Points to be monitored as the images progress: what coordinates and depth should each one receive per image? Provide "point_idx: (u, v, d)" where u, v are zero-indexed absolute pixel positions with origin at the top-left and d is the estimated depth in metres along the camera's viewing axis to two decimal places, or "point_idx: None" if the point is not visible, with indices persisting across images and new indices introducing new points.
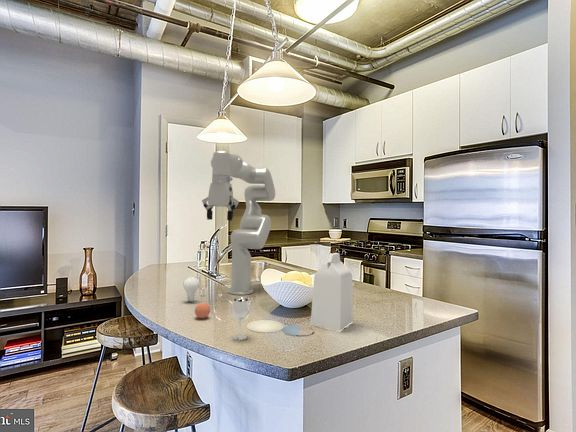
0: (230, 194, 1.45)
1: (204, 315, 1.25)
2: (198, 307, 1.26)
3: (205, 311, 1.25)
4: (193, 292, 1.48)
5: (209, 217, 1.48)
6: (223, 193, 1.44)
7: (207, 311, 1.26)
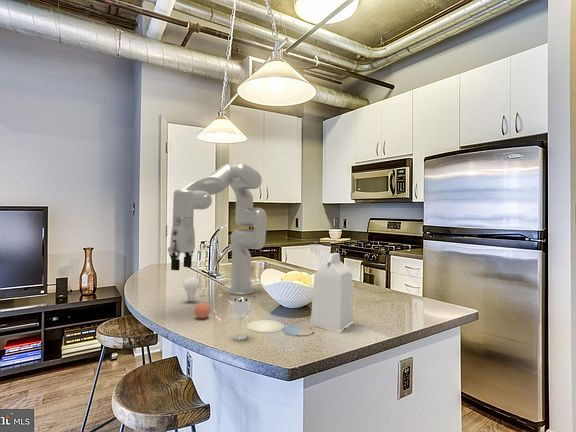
0: (174, 238, 1.25)
1: (204, 315, 1.25)
2: (198, 307, 1.26)
3: (205, 311, 1.25)
4: (193, 292, 1.48)
5: (185, 264, 1.34)
6: None
7: (207, 311, 1.26)
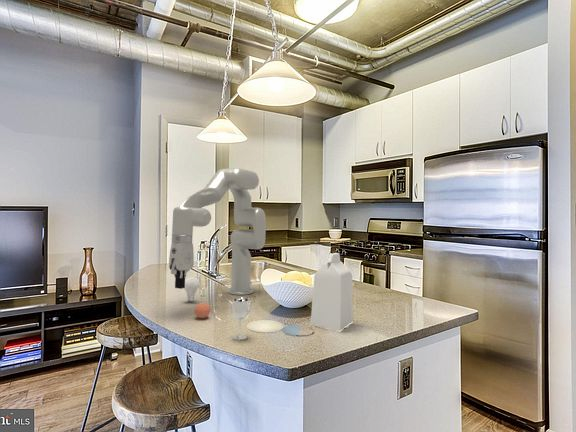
0: (172, 256, 1.25)
1: (204, 315, 1.25)
2: (198, 307, 1.26)
3: (205, 311, 1.25)
4: (193, 292, 1.48)
5: None
6: None
7: (207, 311, 1.26)
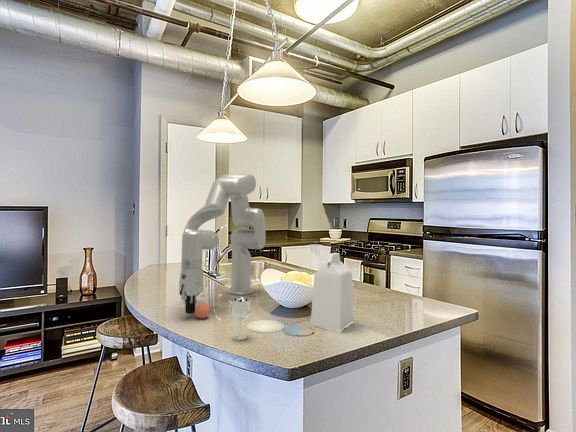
0: (182, 282, 1.24)
1: (204, 315, 1.25)
2: (198, 307, 1.26)
3: (205, 311, 1.25)
4: None
5: None
6: None
7: (207, 311, 1.26)
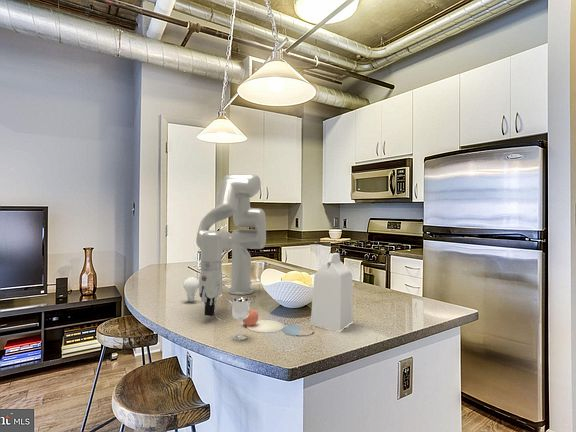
0: (203, 284, 1.22)
1: (252, 324, 1.19)
2: None
3: (254, 321, 1.19)
4: (193, 292, 1.48)
5: None
6: None
7: (256, 321, 1.20)
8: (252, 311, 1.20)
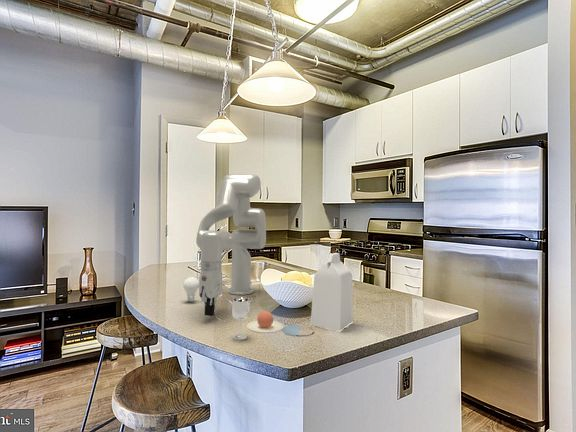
0: (203, 284, 1.22)
1: (257, 321, 1.19)
2: (266, 325, 1.17)
3: (259, 325, 1.18)
4: (193, 292, 1.48)
5: None
6: None
7: None
8: (268, 326, 1.18)
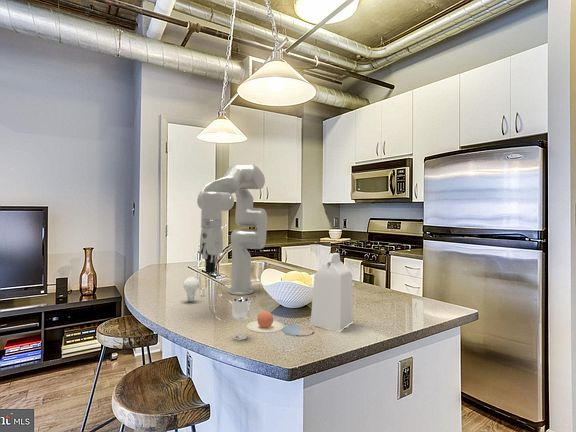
0: (203, 241, 1.25)
1: (257, 321, 1.19)
2: (266, 325, 1.17)
3: (259, 325, 1.18)
4: (193, 292, 1.48)
5: None
6: None
7: None
8: (268, 326, 1.18)
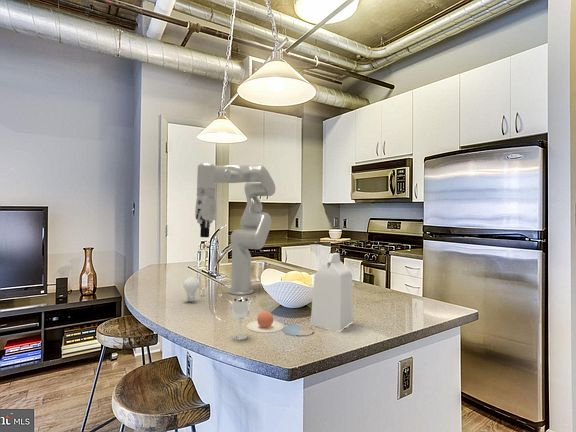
0: (198, 207, 1.38)
1: (257, 321, 1.19)
2: (266, 325, 1.17)
3: (259, 325, 1.18)
4: (193, 292, 1.48)
5: None
6: None
7: None
8: (268, 326, 1.18)
